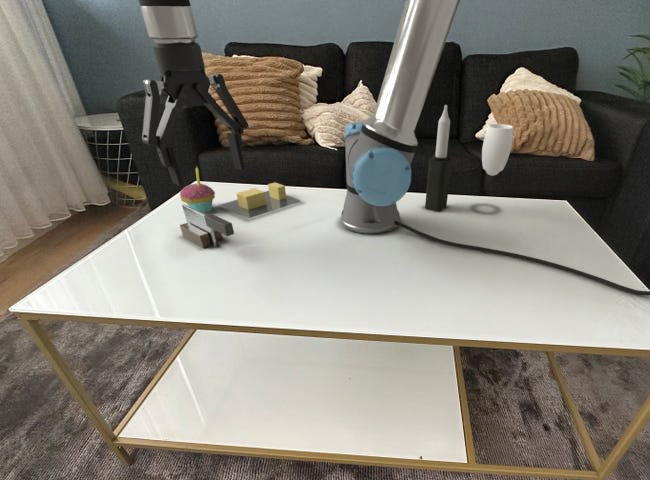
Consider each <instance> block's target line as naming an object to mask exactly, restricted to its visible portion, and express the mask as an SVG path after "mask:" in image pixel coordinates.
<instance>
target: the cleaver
mask: <svg viewBox="0 0 650 480" xmlns="http://www.w3.org/2000/svg"><path fill="white" fill-rule="evenodd" d="M181 206H182V210H183V213H184V216H185V220H186V223H189V224H191V225H193V226H195V227H197V228H199V229H200V230H202V231H204V232H206V233H208V236H209V239H210V243H211V246H212V247H214V248H217V247H218V242H217V241H216V239H215V236H214V232H213V229H214V230H216V231H218V232H220V233H221V234H222V236H223V235H224V236H225V237H229V236H232V235H235V231H234V226H233V223H232V222H230V221H228V220H226V219H223V218H222V217H220V216H218V215H216V214H214V213H208V214H206V213H201V212H199V211H197V210H195V209H193V208H191V207H189V206H188V204H185V203H182V204H181Z"/></svg>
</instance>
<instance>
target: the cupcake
mask: <svg viewBox="0 0 650 480" xmlns="http://www.w3.org/2000/svg"><path fill="white" fill-rule="evenodd" d="M195 175H196V183H193V184H192V183H191V184H188V185H185V186H183V188H182V189H180V193H179V198H180V201H181V202H183V203H184V204H185V203H186V205H187V206H189V207H191V208H193V209H195V210H197V211H199V212H201V213H204V214H206V213H209V212H211V211H212V210H213V200H214V199H215V198H216V196H215V194H216V191H215V190H213V188H212V187H210V186H209V185H206V184H203V183H201V179H200V172H199V167H195Z"/></svg>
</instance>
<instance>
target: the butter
mask: <svg viewBox="0 0 650 480" xmlns="http://www.w3.org/2000/svg"><path fill="white" fill-rule="evenodd" d="M265 192H266V191H264V190H261V189H258V188H256V187H253V188H249V189H246V190H242V191H239V192H235V193H236V200H238V204H239V206H240V207H242V208H245V209H247V210H251V209H254V208H257V207H261V206H264V205H267V203H266V197H265Z"/></svg>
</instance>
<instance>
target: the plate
mask: <svg viewBox="0 0 650 480" xmlns="http://www.w3.org/2000/svg"><path fill="white" fill-rule="evenodd" d="M264 192H265V197H266V203H267V205H264V206H261V207H257V208H254V209H251V210H247V209H245V208H242V207H240V206H239V204H238V199H235V200H231V201H227V202H224V203H222V204H218V207H220V208H223V209H226V210H228V211H230V212H232V213H234V214H237V215H239V216H241V217H244V218H246V219H251V218H255V217H257V216H260V215H263V214H266V213H269V212H273V211H275V210H279V209H283V208H285V207H288V206H291V205H295V204H298V203H301V202H302V200H300V199H297V198H294V197H292V196H289V195H286V199H283V200H277V199H275V198H272V197H270V194H269V190H267V191H264Z"/></svg>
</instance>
